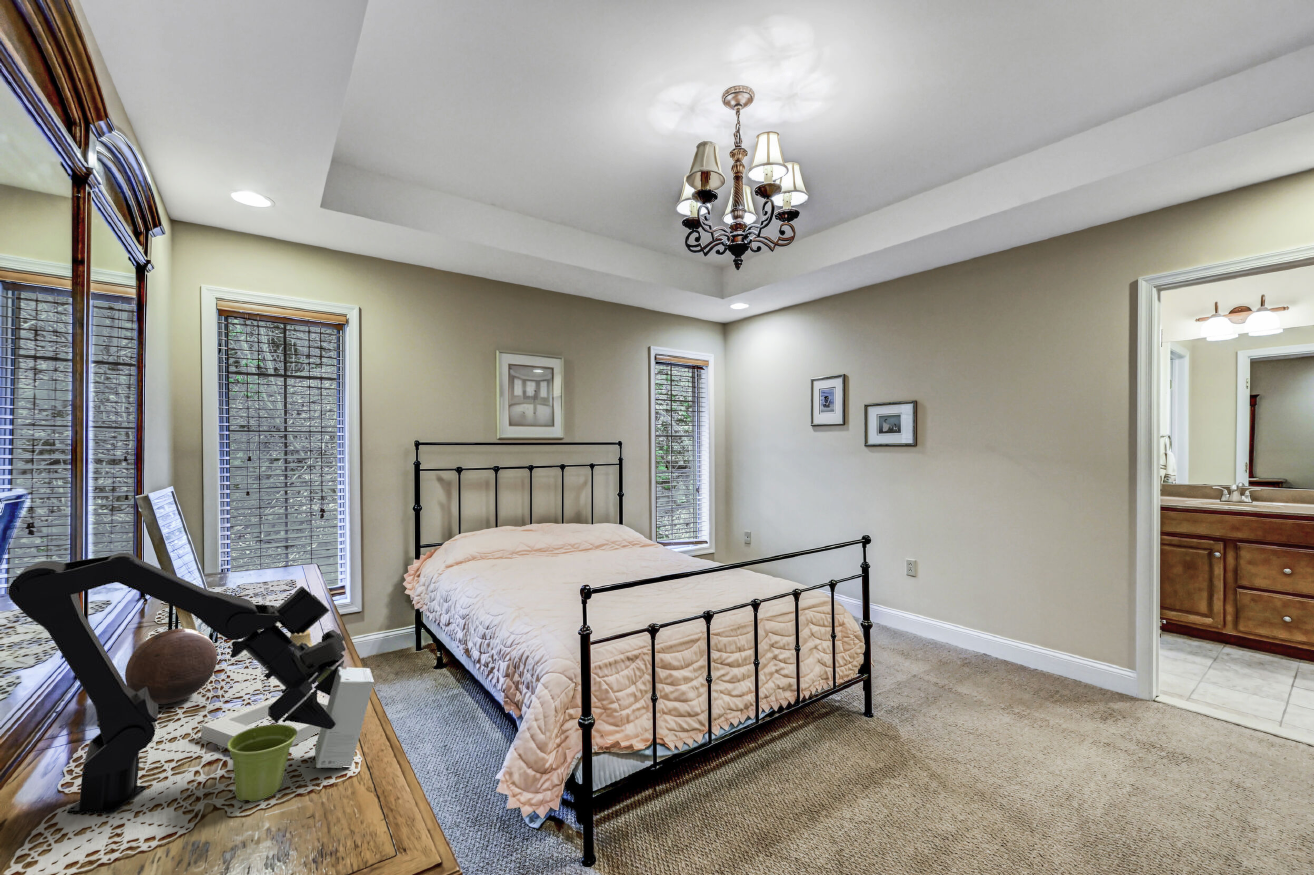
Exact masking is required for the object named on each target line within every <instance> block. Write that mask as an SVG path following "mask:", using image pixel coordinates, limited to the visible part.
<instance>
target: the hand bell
mask: <svg viewBox="0 0 1314 875" xmlns="http://www.w3.org/2000/svg"><path fill="white" fill-rule="evenodd" d="M289 638H291V639H292V640H293V641H294V642H295V643H296V644H297V645H298V646H299V645H300V644H301V643H303V644H304V643H306V644H307V645H308V646H309V647H311V646H313V645H314V644H313V641H312V639H311V631H310V630H309V629H308V630H307V631H306V632H305V633H304V634H302V633H300V634H299V635H298V634H296V633H295V634H294V635H293V634H291V633H290V636H289Z"/></svg>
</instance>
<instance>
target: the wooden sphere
mask: <svg viewBox="0 0 1314 875" xmlns="http://www.w3.org/2000/svg"><path fill="white" fill-rule="evenodd" d="M217 661H218V652H217V648H216V646H215V644H214V643H213V641H212V640H211V639H210V637H208V635H205V633H203V632H200V631H198V630H195V629H191V628H190V629H189V628H174V629H168V630H163V631H162V632H159V633H156V634H154V635H153V636H150V637H149V638H148V639H146V640H145V641H144V642H142V643H141V644H140V645H139V646H138V647H136V649H135V650H134V652H132V654H131V656H130V657H129V659H128V661H127V664H126V667H125V672H124V679H125V680H124V681H125V684H126V685H127V686H128V687H129V688H131V689H132V690H134V691H135V692H136V693H137V692H139V691H140V690H142V689H143V688H145V687H147V689H148V692H149V695H150V698H151V700H152V701H153V702H154V703H156V704H158V705H166V704H172V703H177V702H180V701H183V700H185V699H186V698H189V697H191V696H193V694H195V693H197V692H198V691H200V689H202V688H203V687H204V686H205V685H206V684H207V683H208V681H209V680H210V679H211V677H213V676H212V675H213V674H214V672H215V669H216V666H217V663H218V662H217Z"/></svg>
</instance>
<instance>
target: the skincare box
mask: <svg viewBox="0 0 1314 875" xmlns="http://www.w3.org/2000/svg"><path fill="white" fill-rule="evenodd" d="M374 684H375V680H374V678H373V674H372V671H371V668H370V667H369V668H368V667H347V666H344V667H338V669H337V673H336V676H335V680H334V683H333V687H332V690H331V694H330V696H328V697H329V698H328V699H329V701H328V704H327V708H326V712H327V713H328V714H329V715H330V717H331V718H332V719H333V721H334V722H335V724H336V725H335V726H334V727H333V728H332V729H326V728H321V729H320V732H319V734H318V736H317V740H316V744H315V746H314V757H315V768H319V769H321V768H323V769H324V768H333V769H335V768H337V769H343V768H342V767H343V766H351V767H352V765H353V762H354V757H355V753H356V751H357V750H356V749H357V746H358V743H359V739H360V735H361V732H362V727H363V723H364V720H365V715H366V714H367V713H366V712H367V708H368V706H369V701H370V698H371V693H372V690H373V688H374Z"/></svg>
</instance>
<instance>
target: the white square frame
mask: <svg viewBox="0 0 1314 875" xmlns="http://www.w3.org/2000/svg"><path fill="white" fill-rule="evenodd" d="M281 695H282V694H281ZM281 695H278V696H275V697H272V698H269V699H267V700H263V701H262V702H259V703H256V704H253V705H251V706H249V707H245V708H244V709H243V708H242V709H240V710H238V711H235V712H233V713H230V714H227V715H223V716H222V717H220V718H219V717H218V718H216V719H214V720H211V721H209V722H208V721H207V722H206V723H203V724H202V725H201V734H200V739H203V740H205V741H207V742H210V743H213V744H214V745H218V746H220V747H223V748H226V749H228V748H227V744H228V742H229V740H230V739H231V738H232V737H234V736H235V735H237V734H239V733H241V732H243V731H245V730H248V729H251V728H252V727H250V726H248V725H250V724H252V723H255V722H259V721H260V720H263V719H265V718H267V717H269V716H268V707H270V706H271V705H272V704H273V703H274V702H275V701H276V700H277V699H278V698H279V697H280V696H281ZM317 701H318V702H319V704H320V705H321V706H322V707H323V708H324V709H325V711H326V708H327V704H328V701H329V698H326V697H321V696H318V695H317ZM293 727H294V728H295V729H296V730H297V736H296V738H295V739H294V740H293V743H292V746H291V747H293V746H295V745H297V744H299V743H301V742H304V741H306V740H308V739H310V738H312V737H311V736H313V735H315V734H317V733H319V732H320V729H321V727H317V726H313V725H308V724H303V723H298V724H296V725H294V726H293ZM317 735H318V734H317ZM315 736H316V735H315ZM313 737H314V736H313Z"/></svg>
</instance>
